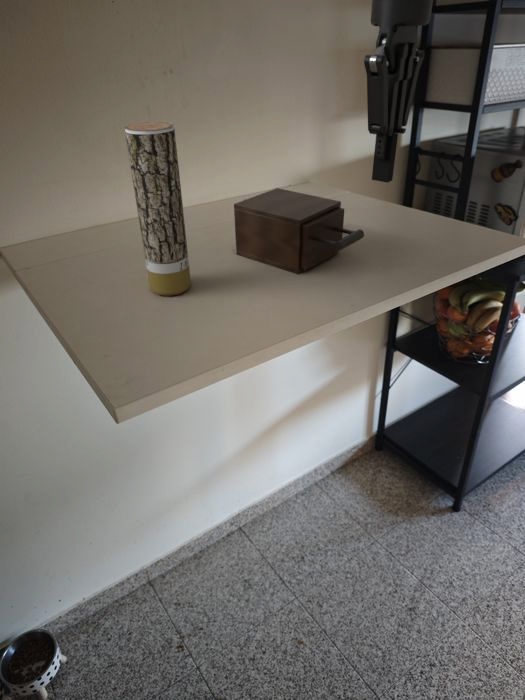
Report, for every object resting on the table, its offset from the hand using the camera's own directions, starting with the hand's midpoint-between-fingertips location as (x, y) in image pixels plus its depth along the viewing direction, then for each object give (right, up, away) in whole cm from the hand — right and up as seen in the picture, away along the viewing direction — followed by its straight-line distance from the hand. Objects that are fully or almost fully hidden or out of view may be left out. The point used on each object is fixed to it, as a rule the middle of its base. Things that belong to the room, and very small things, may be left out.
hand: (381, 179), depth 76 cm
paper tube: (-34, -16, +7) cm, 38 cm away
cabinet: (-14, -7, +19) cm, 24 cm away
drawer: (-10, -8, +16) cm, 21 cm away
